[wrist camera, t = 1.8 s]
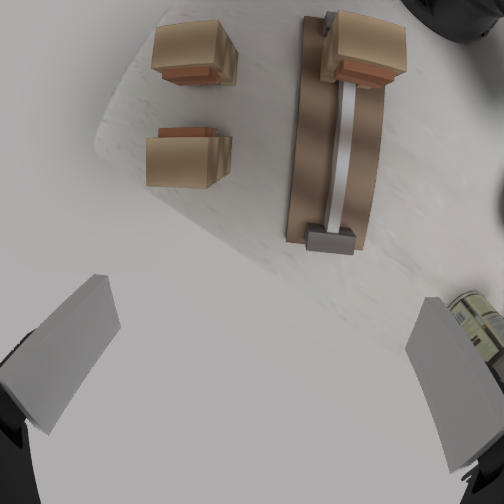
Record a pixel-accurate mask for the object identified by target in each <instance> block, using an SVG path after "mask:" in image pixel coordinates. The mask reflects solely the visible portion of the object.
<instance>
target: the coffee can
mask: <svg viewBox="0 0 504 504" xmlns="http://www.w3.org/2000/svg"><path fill="white" fill-rule="evenodd" d="M448 310H449V311H450V312H451V314H452V315H453V316H454V318H455V319H456V320H457V322H458V323H459V325H460V326H461V327H462V329H463V330H464V332H465V333H466V335H467V336H468V337H469V339H470V340H471V342H472V343H473V345H474V346H475V348H476V349H477V351H478V352H479V354H480V356H481V357H482V359H483V360H484V362H486V361H487V362H488V363H489V364H490V365H491V366H492V367H493V368H494V369H495V370H496V371H497V373H498V375H499V376H500V378H501V382H503V383H504V319H503V318H502V317H501V315H500V314H499V313H498V312H497V311H496V310H495V309H494V307H493V306H492V305H491V304H490V303H489V302H488V301H487V300H486V299H485V298H484V296H483V295H482V294H481V293H480V292H477V291H471V292H468V293H465V294H463V295H461V296H460V297H458V298H457V299H456V300H455V301H453V303H452V304H451V305H450V306H449V307H448Z"/></svg>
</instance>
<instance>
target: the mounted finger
mask: <svg viewBox="0 0 504 504" xmlns="http://www.w3.org/2000/svg"><path fill="white" fill-rule="evenodd" d="M404 72H407V57H406V32H405V27H402V26H399V25H396V24H393V23H389V22H386V21H383V20H379V19H376V18H372V17H368V16H364V15H360V14H356V13H351V12H347V11H342V10H338V13H337V15H336V17H335V19H334V21H333V23H332V26H331V28H330V30H329V32H328V35H327V37H326V39H325V41H324V43H323V46H322V48H321V69H320V81H323V82H330V83H334V82H335V81H336V80H340V81H346V82H351V83H356V87H357V88H361V89H366V90H369V89H371V88H377V89H378V88H380V87H382V86H384V85H386V84H389V83H391V82H393V81H394V77H396V76H398V75H400V74H402V73H404Z"/></svg>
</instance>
